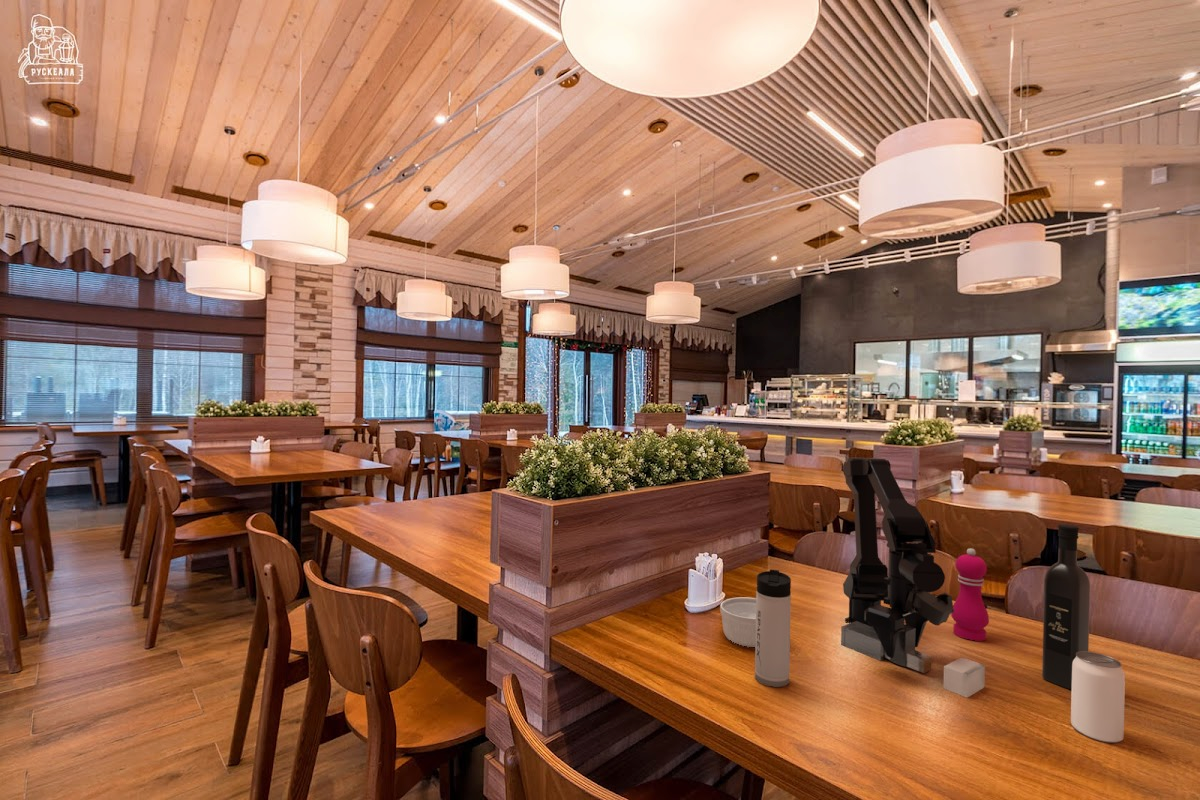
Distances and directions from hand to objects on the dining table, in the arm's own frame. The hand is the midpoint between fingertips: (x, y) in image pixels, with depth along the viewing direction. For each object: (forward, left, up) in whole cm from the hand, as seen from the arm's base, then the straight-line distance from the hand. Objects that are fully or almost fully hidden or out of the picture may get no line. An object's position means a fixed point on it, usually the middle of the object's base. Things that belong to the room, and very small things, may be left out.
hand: (902, 651), depth 116 cm
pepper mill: (+1, +27, -2) cm, 27 cm away
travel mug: (-10, -28, -2) cm, 30 cm away
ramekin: (-25, -17, -3) cm, 30 cm away
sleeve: (-7, 0, -2) cm, 7 cm away
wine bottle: (+21, +19, -2) cm, 28 cm away
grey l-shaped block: (-2, 0, -2) cm, 3 cm away
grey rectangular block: (+11, 0, -2) cm, 12 cm away
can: (+30, +3, -2) cm, 30 cm away
